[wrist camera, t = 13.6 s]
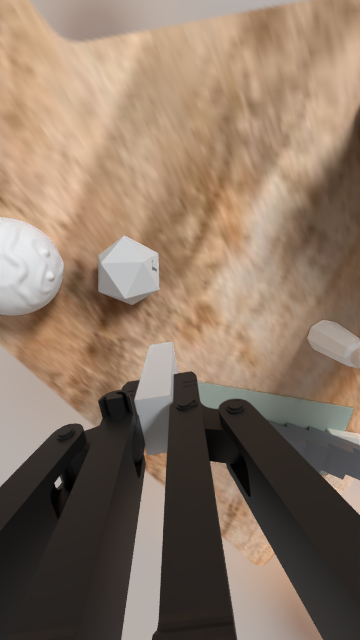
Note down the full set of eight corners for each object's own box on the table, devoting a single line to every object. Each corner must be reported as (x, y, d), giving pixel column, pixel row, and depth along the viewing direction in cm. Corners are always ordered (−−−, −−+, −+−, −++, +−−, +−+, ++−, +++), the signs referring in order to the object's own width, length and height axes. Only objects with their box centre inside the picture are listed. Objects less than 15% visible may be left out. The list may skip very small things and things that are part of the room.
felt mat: (177, 450, 48) (177, 452, 48) (193, 380, 45) (193, 382, 44) (325, 472, 50) (327, 475, 49) (351, 407, 46) (353, 409, 46)
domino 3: (278, 451, 46) (343, 479, 42) (286, 426, 45) (354, 453, 41) (279, 446, 47) (341, 472, 44) (287, 422, 46) (352, 447, 43)
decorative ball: (83, 300, 41) (47, 321, 29) (6, 308, 41) (-60, 331, 30) (67, 218, 38) (20, 205, 26) (-16, 227, 38) (-100, 217, 27)
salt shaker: (339, 316, 42) (394, 338, 32) (340, 347, 44) (394, 379, 33) (305, 322, 42) (348, 346, 32) (307, 353, 44) (349, 387, 33)
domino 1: (234, 445, 46) (296, 472, 42) (242, 419, 44) (306, 445, 41) (236, 439, 47) (296, 465, 44) (243, 415, 46) (305, 439, 42)
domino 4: (322, 458, 46) (376, 467, 47) (332, 434, 45) (387, 443, 46) (317, 452, 48) (370, 460, 48) (326, 428, 47) (380, 437, 47)
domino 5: (300, 455, 46) (366, 483, 43) (309, 430, 45) (378, 457, 41) (300, 449, 48) (364, 476, 44) (308, 425, 46) (375, 450, 43)
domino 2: (256, 448, 46) (319, 475, 42) (263, 423, 45) (329, 449, 41) (257, 442, 47) (318, 468, 44) (264, 418, 46) (328, 443, 43)
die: (143, 308, 42) (174, 298, 34) (87, 305, 38) (107, 292, 29) (142, 258, 43) (172, 236, 35) (87, 249, 38) (107, 221, 30)
